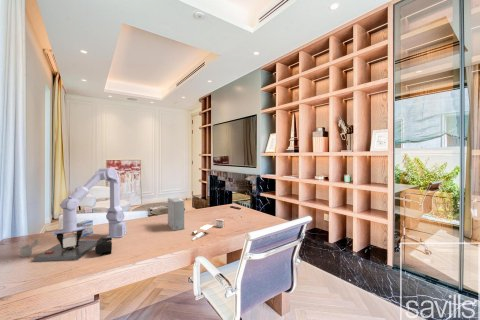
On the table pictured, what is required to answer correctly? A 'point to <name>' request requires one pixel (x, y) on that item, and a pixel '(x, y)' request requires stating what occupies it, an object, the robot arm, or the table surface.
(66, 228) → the robot arm
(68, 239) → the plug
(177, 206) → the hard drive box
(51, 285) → the table surface
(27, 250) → the grey angled bar block
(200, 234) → the white jointed pieces
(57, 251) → the socket
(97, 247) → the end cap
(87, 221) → the medicine box
